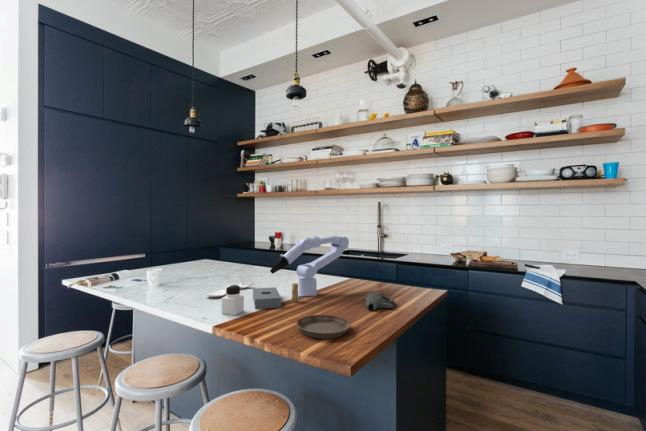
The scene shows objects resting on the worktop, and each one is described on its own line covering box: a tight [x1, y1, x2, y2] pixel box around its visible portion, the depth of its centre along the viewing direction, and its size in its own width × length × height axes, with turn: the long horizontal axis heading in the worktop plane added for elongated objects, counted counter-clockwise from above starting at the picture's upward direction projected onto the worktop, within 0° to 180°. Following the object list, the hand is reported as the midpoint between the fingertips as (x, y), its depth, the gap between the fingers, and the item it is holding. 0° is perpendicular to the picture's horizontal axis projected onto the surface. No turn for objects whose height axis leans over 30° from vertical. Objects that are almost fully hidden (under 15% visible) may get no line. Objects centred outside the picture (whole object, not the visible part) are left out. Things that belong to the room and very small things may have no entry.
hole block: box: [252, 287, 282, 310], centre depth 170 cm, size 12×22×4 cm, turn 14°
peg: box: [291, 282, 299, 304], centre depth 170 cm, size 3×3×9 cm
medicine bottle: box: [221, 284, 245, 316], centre depth 152 cm, size 7×7×12 cm
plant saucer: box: [296, 314, 351, 339], centre depth 131 cm, size 21×21×3 cm
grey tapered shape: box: [363, 290, 397, 311], centre depth 167 cm, size 5×25×15 cm
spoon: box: [205, 281, 255, 298], centre depth 189 cm, size 9×32×4 cm, turn 154°
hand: (273, 270), depth 173 cm, fingers open, 7 cm apart
